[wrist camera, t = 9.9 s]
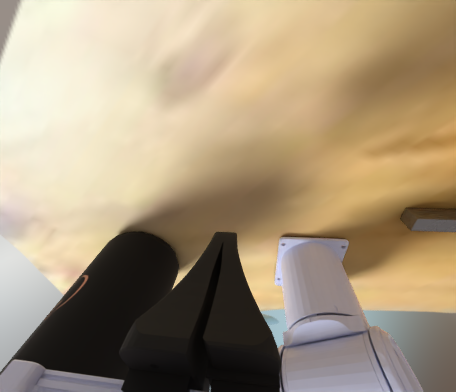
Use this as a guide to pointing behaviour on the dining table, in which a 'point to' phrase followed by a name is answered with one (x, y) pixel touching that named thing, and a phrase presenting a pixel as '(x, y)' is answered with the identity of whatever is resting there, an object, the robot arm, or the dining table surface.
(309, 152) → the dining table surface
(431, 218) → the guide bracket
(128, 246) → the coffee jar
